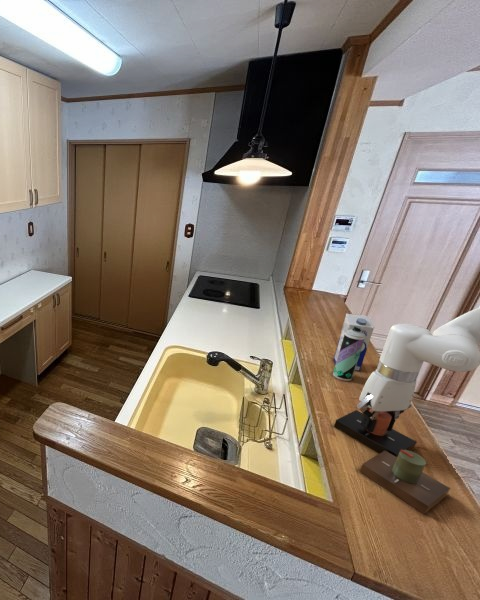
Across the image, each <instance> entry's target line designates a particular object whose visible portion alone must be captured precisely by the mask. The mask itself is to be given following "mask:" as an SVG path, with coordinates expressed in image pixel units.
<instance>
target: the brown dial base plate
mask: <svg viewBox="0 0 480 600" xmlns="http://www.w3.org/2000/svg"><path fill="white" fill-rule="evenodd" d="M396 459H397V457H395V456H394V455H392V454H390V453H389V452H387V451H383V452H382V453H380V454H379V453H377V455H375V456H374V457H372V458H370V459H368V460H367V461H365V462H363V463H362V464H361V467H360V470H359V472H360V473H361V474H363V475H364V476H366V477H367V478H369V479H370V480H371V481H373V482H375V483H377V484H378V485H379V486H381V487H382V488H384V489H386V491H388V492H390V493H391V494H393V495H394V496H396V497H397V498H399V499H401V500H402V501H403V502H405V503H407V504H408V505H410V506H411V507H412V508H414V509H416V510H417V511H418V512H420V513H422V514H423V515H426V514H427V512H429V511H430V510H431V509H433V508H434V507H435V506H436V505H437V504H439V503H440V502H441V501H442V500H443V499H445V498H446V497H447V496H448V494H449V492H450V491H451V487H449V486H447V485H446V484H444V483H442V482H441V481H438V480H437V479H435V478H434V477H432V476H430V475H428V474H426V473H425V472H424V471H423V472H422V474H421V476H420V478H419V480H418V482H417V483H408V482H405V481H403V480H401V479H399V478H398V477H397V476H395V475H394V473H393V472H392V468H393V466H394V464H395V461H396Z"/></svg>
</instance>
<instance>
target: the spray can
mask: <svg viewBox="0 0 480 600" xmlns="http://www.w3.org/2000/svg"><path fill="white" fill-rule="evenodd" d="M364 339H365V334H364V333H362V331H361V330H360V327H359V326H354V328H353V329H351V330H347V331H346V332H345V334H344V338H343V341H342V345H341V348H340V351H339V355H338V358H337V362H336V363H335V366H334V369H333V372H332V376H333V377H334V378H335V379H338V380H340V381H344V382H350V381H352V380H353V377H354V373H355V371H356V370H355V368H356V364H357V361H358V358H359V355H360V352H361V349H362V346H363V343H364Z"/></svg>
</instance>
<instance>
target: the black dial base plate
mask: <svg viewBox="0 0 480 600" xmlns="http://www.w3.org/2000/svg"><path fill="white" fill-rule="evenodd" d="M363 415H364V414H363V413H362V411H360V410H357V409H356V410H352V411H351V412H348V413H347V414H345V415H343V416H341V417H339V418H337V419H336V420H335V422H334V425H333V427H334V428H336V429H337V430H339V431H341V432H342V433H344V434H346V435H347V436H349V437H351V438H353V439H354V440H355V441H356V442H357V441H358V442H359V443H361V444H362V445H364V446H366V447H367V448H369V449H371V450H373V451H374V452H376V453H377V454H380V453H382V452H383V451H387V452H389V453H390V454H392V455H394V456H395V457H397V456H398V454H399V452H400V450H408V451H411V452H412V451H413V450H414V449H415V447H416V445H417V441H416V440H414V439H412V438H410V437H409V436H407V435H405V434H403V433H401V432H399V431H398V430H395V429H394V428H392V430H391V431H388V430H387V431H386V434H385V435H384V436H378V435H375V434H372V433H370V432H369V431H367V430H366V429H365V428H364V427H363V426H362V425H361V421H362V418H363Z"/></svg>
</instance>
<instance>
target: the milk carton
mask: <svg viewBox="0 0 480 600" xmlns="http://www.w3.org/2000/svg"><path fill="white" fill-rule="evenodd" d="M354 326H359V327H360V330H361V331H362V333H364V334H365V339H364V343H363V346H362V349H361V352H360V355H359V358H358V361H357V364H356V368H355V371H356V372H361V368H362V366H363V362H364V360H365V356H366V353H367V350H368V348H369V345H370V341H371V338H372V335H373V332H374V329H375V325H374V323H373V321H372V318H371V317H370V315H361V314H354V313H353V314H352V313H345V318H344V321H343V324H342V328H341V331H340V334H339V338H338V341H337V345H336V349H335V352H334V356H333V361H334V364H336V362H337V358H338V355H339V351H340V348H341V345H342V341H343V338H344V334H345V332H346V331H347V330H351V329H353V328H354Z"/></svg>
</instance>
